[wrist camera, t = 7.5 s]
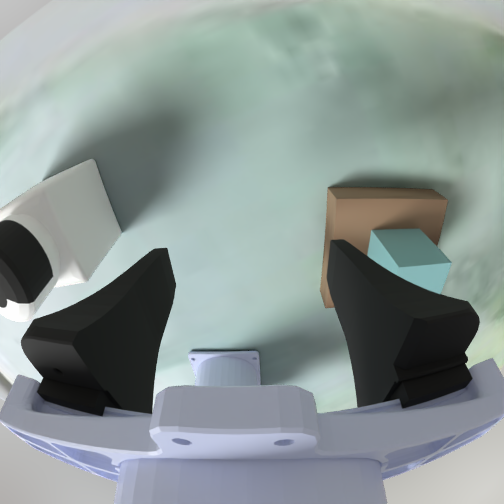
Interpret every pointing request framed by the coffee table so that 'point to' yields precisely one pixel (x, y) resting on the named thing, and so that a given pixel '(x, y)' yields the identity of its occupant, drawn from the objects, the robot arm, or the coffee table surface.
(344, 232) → the walnut slab
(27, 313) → the medicine bottle
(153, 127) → the coffee table surface
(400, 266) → the teal block
